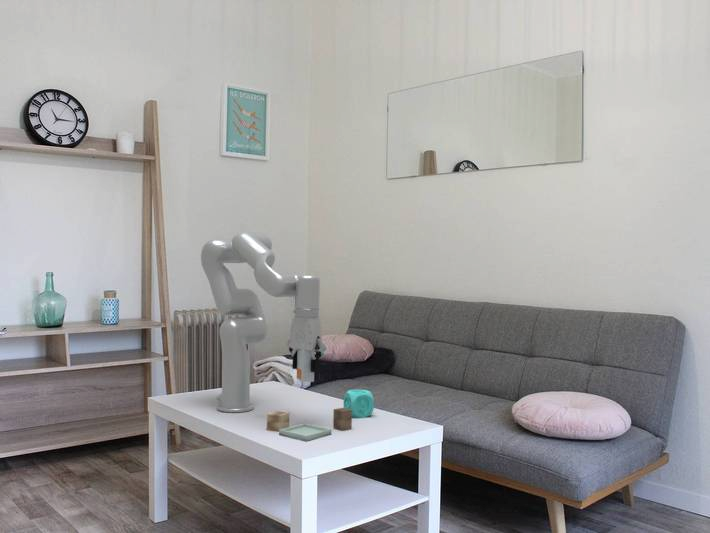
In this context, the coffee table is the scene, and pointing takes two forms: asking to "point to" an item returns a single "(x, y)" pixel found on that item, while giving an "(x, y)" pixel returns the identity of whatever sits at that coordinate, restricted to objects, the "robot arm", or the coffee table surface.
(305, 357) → the skincare box
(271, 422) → the oak cube
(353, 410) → the decorative dice
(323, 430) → the tray
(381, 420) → the coffee table surface
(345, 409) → the walnut block
